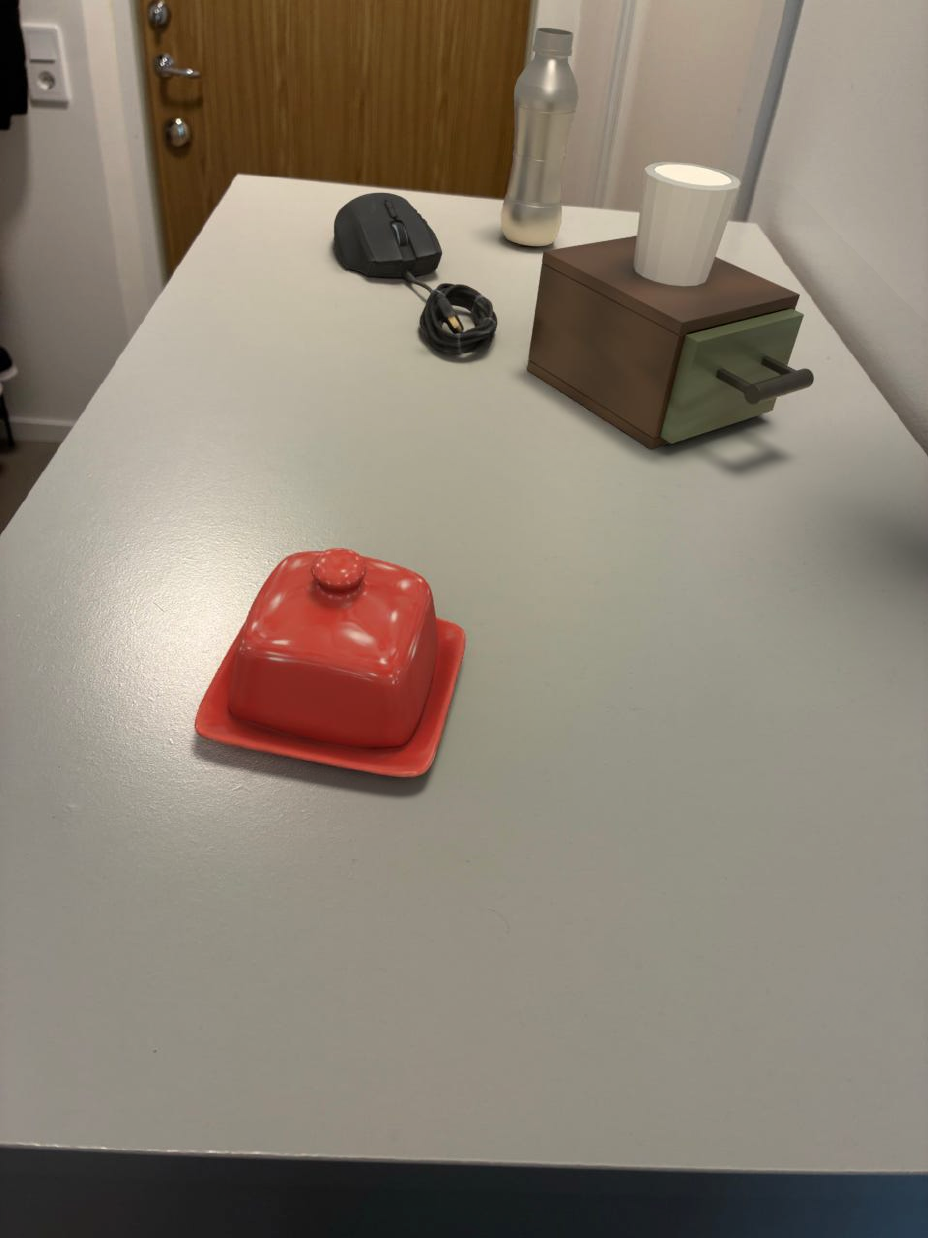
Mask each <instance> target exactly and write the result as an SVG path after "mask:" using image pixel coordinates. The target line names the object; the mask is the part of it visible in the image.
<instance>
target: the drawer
mask: <svg viewBox="0 0 928 1238" xmlns="http://www.w3.org/2000/svg"><path fill="white" fill-rule="evenodd" d="M804 317H805V314H804V313H802V312H800V311H798V310H796V309H795V310H794V309H788V310H784V311H780V312H776V313H772V314H768V315H767V313H766V314H762V315H758V316H754V317H750V318H745V319H741V320H737V321H733V322H729V323H725V324H721V325H717V326H713V327H709V328H705V329H701V330H697V331H693V332H689V333H687V335H685V339H684V343H683V347H682V351H681V355H680V359H679V363H678V367H677V371H676V375H675V379H674V383H673V387H672V391H671V395H670V399H669V403H668V407H667V411H666V415H665V419H664V423H663V427H662V431H661V435H660V437H661V438H663V439H665V440H666V441H668V442H669V444H670V445H671V444H675V443H678V442H681V441H684V440H688V439H690V438H693V437H696V436H700V435H702V434H706V433H708V432H711V431H712V432H713V431H714V430H718V429H722V428H724V427H726V426H727V427H728V426H730V425H733V424H736V423H739V422H742V421H745V420H748V419H751V418H754V417H757V416H761V415H764V414H767V413H769V412H772V411H774V408H775V404H776V402H777V398H779V397H783V396H785V395H789V394H792V393H796V392H799V391H802V390H804V389H807V388H810V387H811V386H813V384H814V381H815V376H814V373H813V372H812V370H810V369H809V368H805V367H804V368H801V369H795V368H793V367H791V366H789V362H790V359H791V356H792V353H793V350H794V347H795V344H796V342H797V341H796V340H797V338H798V334H799V331H800V328H801V326H802V322H803V319H804Z"/></svg>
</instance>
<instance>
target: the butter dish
mask: <svg viewBox="0 0 928 1238" xmlns="http://www.w3.org/2000/svg"><path fill="white" fill-rule="evenodd" d="M435 608H436V607H435V601H434V595H433V591H432V588H431V586H430V584H429V583H428V581H427V580H426V578H424V577H423V576H422V575H421V574H419V573H418V572H416V571H413V570H412V569H408V568H406V567H404V566H401V565H398V564H396V563H391V562H388V561H385V560H382V559H379V558H373V557H368V556H363V555H361V554H360V553H358V552H356V551H354V550H352V549H349V548H343V547H334V548H329V549H325V550H307V551H298V552H294V553H292V554H289V555H288V556H286V557H284V558H283V559H282V560H281V561H280V562H278V564H276V566H275V567H274V568H273V570H272V571H271V573H270V574H269V575H268V577H267V578H266V579H265V580H264V583H263V584H262V586H261V588H260V589H259V591H258V593H257V594H256V596H255V598H254V600H253V602H252V604H251V606H250V609H249V610H248V612H247V615H246V618H245V621H244V622H243V624H242V626H241V627H240V629H239V631H238V633H237V634H236V637H235V638H234V640H233V641H232V643H231V644H230V646H229V648H228V650H227V652H226V654H225V656H224V657H223V659H222V661H221V663H220V665H219V666H218V668H217V670H216V672H215V674H214V676H213V678H212V679H211V681H210V683H209V685H208V686H207V687H208V688H207V689H206V691H205V693H204V695H203V697H202V699H201V702H200V704H199V705H198V709H197V712H196V715H195V719H194V729H195V732H196V733H197V735H199V736H200V737H202V738H204V739H206V740H209V741H212V742H216V743H221V744H223V745H229V746H232V747H238V748H242V749H248V750H251V751H257V752H261V753H262V752H263V753H266V754H267V753H268V754H272V755H276V756H283V757H287V758H292V759H297V760H301V761H307V762H312V763H318V764H322V765H327V766H334V767H336V768H342V769H347V770H354V771H355V770H356V771H359V772H365V773H370V774H375V775H383V776H389V777H394V778H395V777H397V778H416V777H419V776H422V775H424V774H425V773H427V772H428V771H429V769H430V768H431V766H432V765H433V762H434V760H435V758H436V755H437V751H438V748H439V746H440V742H441V738H442V734H443V732H444V727H445V723H446V720H447V717H448V713H449V709H450V706H451V703H452V699H453V696H454V691H455V688H456V683H457V681H458V676H459V672H460V669H461V665H462V663H463V659H464V654H465V650H466V641H467V637H466V633H465V630H464V629H463V628H462V627H461V626H460V625H458V624H457V623H455V622H453V621H449V620H448V619H444V618H440V617H437V616H436V609H435Z"/></svg>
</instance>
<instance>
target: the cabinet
mask: <svg viewBox="0 0 928 1238" xmlns="http://www.w3.org/2000/svg"><path fill="white" fill-rule="evenodd" d="M636 240H637V235H631V236H625V237H619V238H613V239H608V240H602V241H595V242H590V243H584V244H577V245H572V246H571V245H570V246H565V247H558V248H554V249H548V250H543V251H542V259H541V267H540V272H539V281H538V288H537V295H536V302H535V307H534V308H535V309H534V315H533V322H532V329H531V338H530V342H529V343H530V344H529V349H528V350H529V352H528V357H527V359H528V360H527V365H526V370H527V371H528V372H530V373H532V375H535V376H536V377H537V378H539V379H541V380H542V381H544V382H545V383H547V384H549V385H550V386H552V387H553V388H555V389H556V390H558V391H559V392H561V393H563V394H564V395H566V396H567V397H569V398H570V399H572V400H573V401H575V402H577V403H578V404H579V405H581V406H582V407H584V408H586V409H587V410H589V411H591V412H592V413H594V415H595V414H596V415H597V416H599V417H600V418H601V419H602V420H605V421H606V422H607V423H609V424H611V425H612V426H613V427H615V428H617V429H619V430H620V431H622V432H623V433H624V434H626V435H628V436H630V437H631V438H633V439H634V440H636V441H638V442H639V443H640V444H642V445H644V446H645V447H647V448H649V449H650V450H653V449H656V448H659V447H662V446H666V445H668V444H669V445H670V443H669V442H668V441H666V440H665V439H663V438H661V437H660V435H661V431H662V427H663V423H664V419H665V415H666V411H667V407H668V403H669V399H670V395H671V391H672V387H673V383H674V379H675V375H676V371H677V367H678V363H679V359H680V355H681V351H682V347H683V343H684V339H685V335H687V333H689V332H693V331H697V330H701V329H705V328H709V327H713V326H717V325H721V324H725V323H729V322H733V321H737V320H741V319H745V318H750V317H754V316H758V315H762V314H766V313H767V315H768V314H772V313H776V312H780V311H784V310H788V309H794V310H796V308H797V306H798V303H799V299H800V296H801V294H799V293H798V292H796V291H793V290H791V289H789V288H787V287H785V286H782V285H780V284H777V283H776V282H774V281H771V280H769V279H766V278H764V277H762V276H760V275H758V274H755V273H753V272H751V271H748V270H746V269H744V268H743V267H739V266H737V265H735V264H733V263H731V262H729V261H726V260H724V259H722V258H719V257H717V256H715V259H714V262H713V264H712V267H711V270H710V273H709V276H708V278H707V280H706V282H705V283H702V284H699V285H696V286H675V285H667V284H663V283H659V282H655V281H652V280H650V279H647V278H645V277H643V276H641V275H640V274H638V273H637V272H636V271H635V269H634V257H635V249H636Z"/></svg>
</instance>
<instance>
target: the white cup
mask: <svg viewBox="0 0 928 1238" xmlns="http://www.w3.org/2000/svg"><path fill="white" fill-rule="evenodd" d="M741 185H742V182H741V181H740V179H739V178H738V177H736V176H735V175H732V174H731V173H729V172H727V171H724V170H720V169H717V168H714V167H711V166H710V167H709V166H706V165H700V164H695V163H688V162H677V161H660V162H654V163H650V164H648V165H646V167H645V168H644V171H643V179H642V189H641V197H640V206H639V214H638V225H637V232H636V236H637V240H636V249H635V257H634V269H635V271H636V272H637V273H638V274H640V275H641V276H643V277H645V278H647V279H650V280H652V281H655V282H659V283H663V284H667V285H675V286H696V285H699V284H702V283H705V282H706V280H707V278H708V276H709V273H710V270H711V267H712V264H713V262H714V259H715V257H717V253H718V250H719V247H720V245H721V242H722V238H723V235H724V233H725V230H726V228H727V224H728V222H729V219H730V216H731V213H732V211H733V208H734V204H735V202H736V200H737V199H736V198H737V196H738V193H739V190H740V187H741Z"/></svg>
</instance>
